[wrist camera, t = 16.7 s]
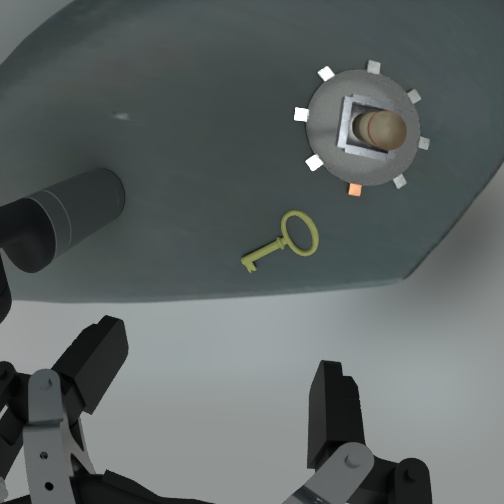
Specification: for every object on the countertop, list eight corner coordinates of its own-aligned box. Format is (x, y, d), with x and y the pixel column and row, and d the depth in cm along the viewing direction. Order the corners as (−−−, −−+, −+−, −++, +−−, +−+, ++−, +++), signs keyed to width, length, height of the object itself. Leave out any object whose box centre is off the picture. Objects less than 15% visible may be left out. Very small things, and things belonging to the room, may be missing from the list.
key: (239, 257, 47) (237, 263, 45) (295, 202, 42) (295, 206, 40) (272, 286, 48) (271, 293, 46) (329, 235, 44) (331, 240, 42)
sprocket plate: (285, 180, 41) (284, 186, 37) (303, 49, 32) (303, 42, 29) (411, 205, 39) (420, 213, 35) (432, 83, 31) (444, 80, 27)
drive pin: (348, 138, 35) (366, 144, 26) (353, 109, 34) (372, 105, 25) (377, 146, 35) (402, 154, 26) (383, 117, 33) (410, 117, 24)
